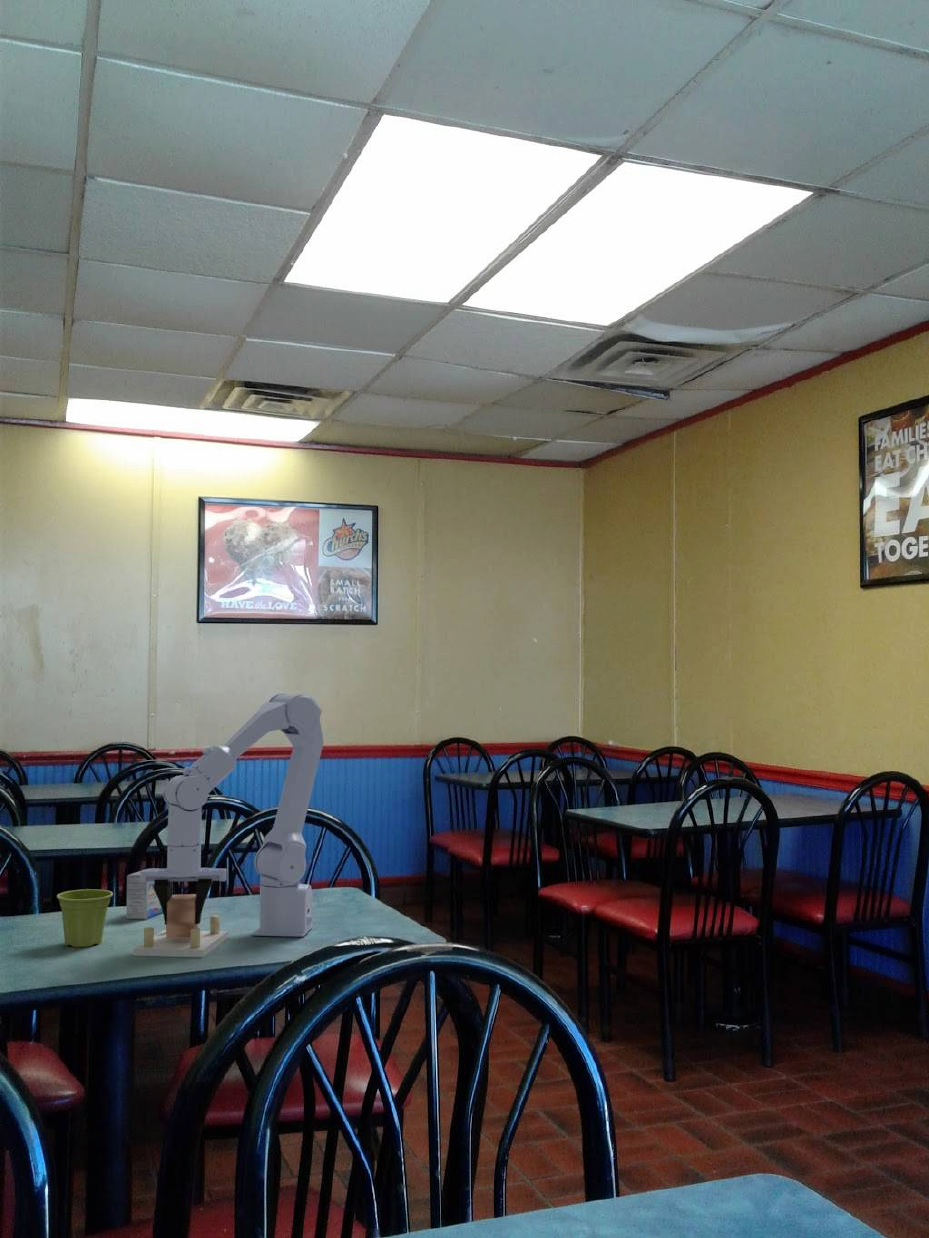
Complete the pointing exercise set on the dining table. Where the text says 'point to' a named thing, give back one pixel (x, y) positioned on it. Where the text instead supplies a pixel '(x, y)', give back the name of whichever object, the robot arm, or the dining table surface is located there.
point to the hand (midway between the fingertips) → (182, 923)
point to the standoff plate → (182, 942)
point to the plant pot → (84, 916)
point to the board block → (181, 915)
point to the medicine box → (141, 898)
